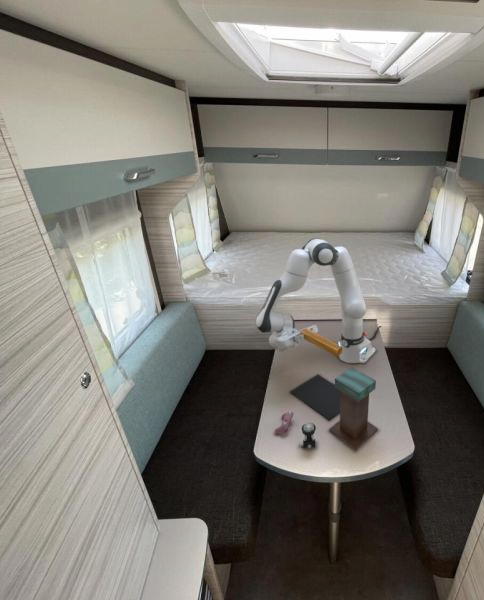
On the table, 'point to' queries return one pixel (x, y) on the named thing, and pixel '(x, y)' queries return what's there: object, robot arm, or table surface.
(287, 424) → the pink irregular piece
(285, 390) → the table surface
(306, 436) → the black silver upright piece
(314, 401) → the mat
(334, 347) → the ochre bar
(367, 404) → the stand
